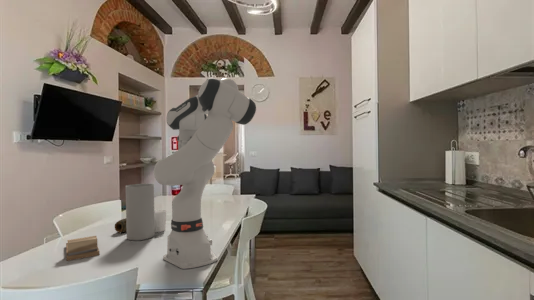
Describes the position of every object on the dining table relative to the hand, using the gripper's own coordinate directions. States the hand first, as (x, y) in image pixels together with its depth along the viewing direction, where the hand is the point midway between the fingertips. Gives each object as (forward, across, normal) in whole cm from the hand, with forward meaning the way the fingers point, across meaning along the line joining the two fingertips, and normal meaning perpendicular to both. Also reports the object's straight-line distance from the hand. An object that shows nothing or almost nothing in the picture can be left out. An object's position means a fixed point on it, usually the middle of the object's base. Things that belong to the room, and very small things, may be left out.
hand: (188, 164), depth 152 cm
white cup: (+34, +14, +12) cm, 39 cm away
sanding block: (+33, -6, +46) cm, 57 cm away
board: (+34, +1, +46) cm, 58 cm away
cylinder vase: (+34, +7, +22) cm, 41 cm away
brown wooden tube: (+35, +25, +24) cm, 49 cm away
